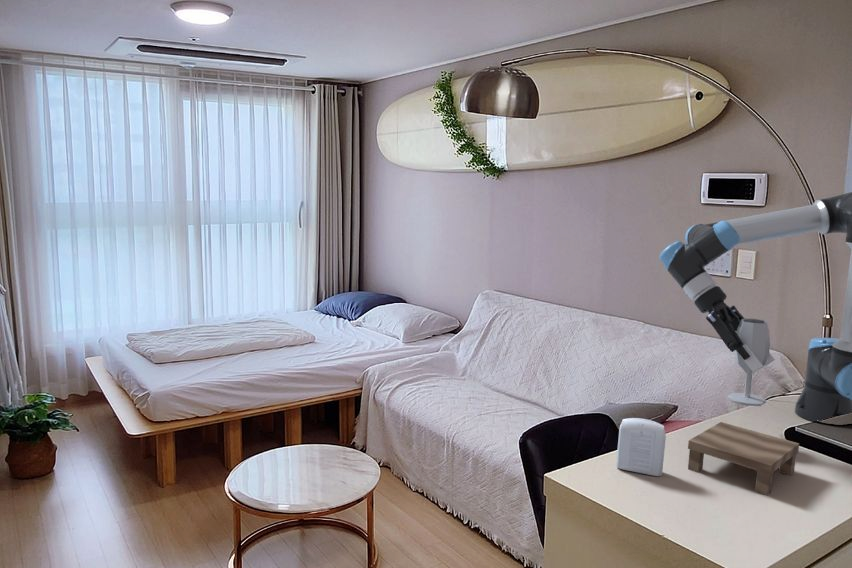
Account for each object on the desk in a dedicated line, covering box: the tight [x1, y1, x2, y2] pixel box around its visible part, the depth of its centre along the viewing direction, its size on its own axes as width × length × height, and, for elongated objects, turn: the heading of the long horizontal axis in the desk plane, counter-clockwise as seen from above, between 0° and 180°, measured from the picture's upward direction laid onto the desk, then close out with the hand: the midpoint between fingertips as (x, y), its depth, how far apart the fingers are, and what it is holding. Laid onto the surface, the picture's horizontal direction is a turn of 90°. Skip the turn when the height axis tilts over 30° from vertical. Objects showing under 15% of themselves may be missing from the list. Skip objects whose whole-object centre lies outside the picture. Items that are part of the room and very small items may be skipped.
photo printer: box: [615, 417, 667, 477], centre depth 154 cm, size 10×4×12 cm, turn 67°
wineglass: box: [727, 317, 771, 407], centre depth 169 cm, size 9×9×21 cm
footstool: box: [687, 421, 800, 496], centre depth 155 cm, size 18×18×7 cm
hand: (764, 365), depth 167 cm, fingers closed on wineglass, 8 cm apart
